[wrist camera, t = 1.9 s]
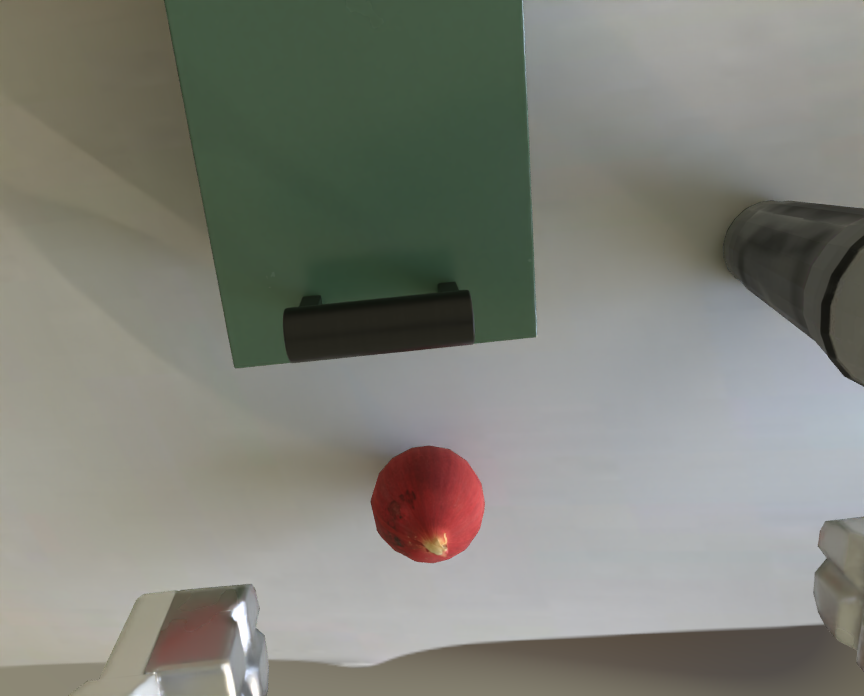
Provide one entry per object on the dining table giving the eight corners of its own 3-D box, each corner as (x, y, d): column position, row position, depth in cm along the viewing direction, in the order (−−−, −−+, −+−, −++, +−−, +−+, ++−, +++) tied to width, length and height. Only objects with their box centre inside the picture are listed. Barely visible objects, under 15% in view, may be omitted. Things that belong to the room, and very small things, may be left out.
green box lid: (533, 331, 29) (564, 380, 24) (237, 361, 28) (208, 417, 24) (510, -194, 23) (545, -271, 18) (138, -163, 23) (71, -234, 18)
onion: (384, 520, 43) (384, 613, 35) (363, 433, 41) (358, 510, 33) (482, 502, 43) (503, 590, 35) (466, 413, 41) (484, 486, 33)
